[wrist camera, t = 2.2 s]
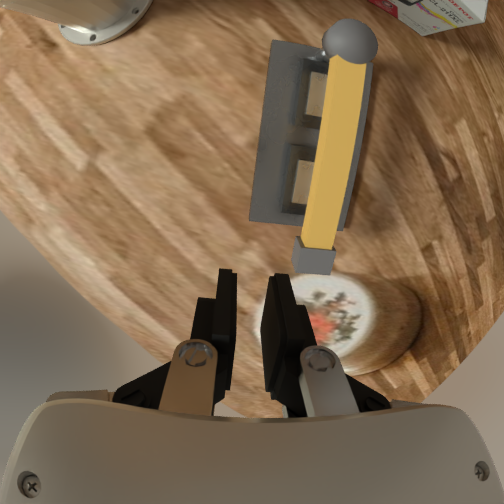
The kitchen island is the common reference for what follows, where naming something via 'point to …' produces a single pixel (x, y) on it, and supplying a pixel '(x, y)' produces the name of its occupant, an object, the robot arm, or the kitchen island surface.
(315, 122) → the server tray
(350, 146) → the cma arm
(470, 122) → the kitchen island surface
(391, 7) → the ink box
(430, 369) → the kitchen island surface
